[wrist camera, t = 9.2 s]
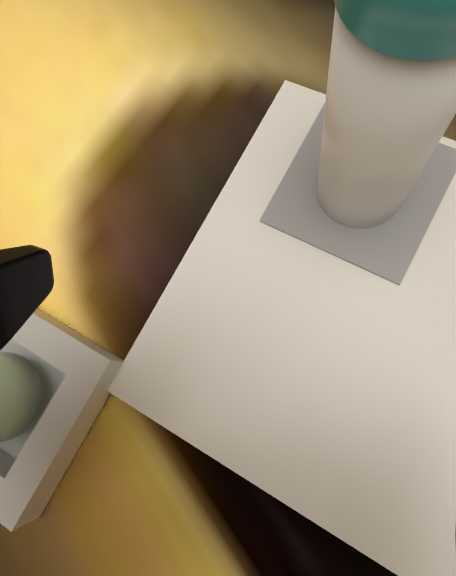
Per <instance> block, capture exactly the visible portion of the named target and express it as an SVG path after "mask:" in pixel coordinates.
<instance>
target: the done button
mask: <svg viewBox="0 0 456 576" xmlns="http://www.w3.org/2000/svg"><path fill="white" fill-rule="evenodd" d="M41 397H42V387H41V381H40V377H39V374H38V372H37V370H36V368H35V367H34V366H33V364H32V363H31V362H30V361H29V360H27V359H26V358H25V357H23V356H21V355H18V354H15V353H9V352H0V442H3V441H7V440H10V439H13V438H15V437H16V436H18V435H20V434H21V433H22V432H23V431H25V430H26V429H27V428H28V426H29V425H30V424H31V423H32V421H33V420H34V418H35V416H36V414H37V412H38V409H39V407H40V403H41Z"/></svg>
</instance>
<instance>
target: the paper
mask: <svg viewBox="0 0 456 576" xmlns="http://www.w3.org/2000/svg"><path fill="white" fill-rule="evenodd" d="M325 102H326V95H325V94H322V93H320V92H317V91H314V90H311V89H309V88H306V87H303V86H300V85H297V84H295V83H292V82H289V81H286V80H285V82H284V83H283V85H282V87H281V89H280V90H279V92H278V94H277V95H276V97H275V99H274V101H273V102H272V104H271V106H270V108H269V109H268V111H267V113H266V115H265V116H264V118H263V120H262V122H261V123H260V125H259V127H258V129H257V130H256V132H255V134H254V136H253V137H252V139H251V141H250V142H249V144H248V146H247V148H246V149H245V151H244V153H243V155H242V156H241V158H240V160H239V162H238V163H237V165H236V167H235V169H234V170H233V172H232V174H231V176H230V177H229V179H228V181H227V182H226V184H225V186H224V188H223V189H222V191H221V193H220V195H219V196H218V198H217V200H216V202H215V203H214V205H213V207H212V209H211V210H210V212H209V214H208V216H207V217H206V219H205V221H204V223H203V224H202V226H201V228H200V229H199V231H198V233H197V235H196V236H195V238H194V240H193V242H192V243H191V245H190V247H189V249H188V250H187V252H186V254H185V256H184V257H183V259H182V261H181V263H180V264H179V266H178V268H177V270H176V271H175V273H174V275H173V276H172V278H171V280H170V282H169V283H168V285H167V287H166V289H165V290H164V292H163V294H162V296H161V297H160V299H159V301H158V303H157V304H156V306H155V308H154V310H153V311H152V313H151V315H150V316H149V318H148V320H147V322H146V323H145V325H144V327H143V329H142V330H141V332H140V334H139V336H138V337H137V339H136V341H135V343H134V344H133V346H132V348H131V350H130V351H129V353H128V355H127V357H126V358H125V360H124V362H123V363H122V365H121V367H120V369H119V370H118V372H117V374H116V376H115V377H114V379H113V381H112V383H111V384H110V386H109V388H108V390H107V391H108V392H109V393H111V394H113V395H114V396H116V397H117V398H119V399H120V400H122V401H124V402H125V403H127V404H128V405H130V406H131V407H133V408H135V409H136V410H138V411H139V412H141V413H142V414H144V415H146V416H147V417H149V418H150V419H152V420H153V421H155V422H157V423H158V424H160V425H161V426H163V427H165V428H166V429H168V430H169V431H171V432H172V433H174V434H176V435H177V436H179V437H180V438H182V439H183V440H185V441H187V442H188V443H190V444H191V445H193V446H194V447H196V448H198V449H199V450H201V451H202V452H204V453H205V454H207V455H209V456H210V457H212V458H213V459H215V460H217V461H218V462H220V463H221V464H223V465H224V466H226V467H228V468H229V469H231V470H232V471H234V472H235V473H237V474H239V475H240V476H242V477H243V478H245V479H246V480H248V481H250V482H251V483H253V484H254V485H256V486H258V487H259V488H261V489H262V490H264V491H265V492H267V493H269V494H270V495H272V496H273V497H275V498H276V499H278V500H280V501H281V502H283V503H284V504H286V505H287V506H289V507H291V508H292V509H294V510H295V511H297V512H298V513H300V514H302V515H303V516H305V517H306V518H308V519H310V520H311V521H313V522H314V523H316V524H317V525H319V526H321V527H322V528H324V529H325V530H327V531H328V532H330V533H332V534H333V535H335V536H336V537H338V538H339V539H341V540H343V541H344V542H346V543H347V544H349V545H350V546H352V547H354V548H355V549H357V550H358V551H360V552H362V553H363V554H365V555H366V556H368V557H369V558H371V559H373V560H374V561H376V562H377V563H379V564H380V565H382V566H384V567H385V568H387V569H388V570H390V571H391V572H393V573H395V574H396V575H398V576H456V542H455V528H456V141H454V140H451V139H448V138H445V137H443V136H442V138H441V139H440V141H439V143H438V144H437V146H436V148H435V149H434V151H433V153H432V154H431V156H430V158H429V159H428V161H427V163H426V164H425V166H424V168H423V169H422V171H421V173H420V175H419V176H418V178H417V180H416V181H415V183H414V185H413V186H412V188H411V190H410V191H409V193H408V195H407V196H406V198H405V200H404V201H403V203H402V205H401V206H400V208H399V209H398V211H397V212H396V213H395V214H394V215H393V216H392V217H391V218H390V219H389V220H387V221H385V222H384V223H382V224H379V225H377V226H374V227H369V228H352V227H348V226H344V225H342V224H340V223H338V222H336V221H334V220H333V219H332V218H330V217H329V216H328V215H327V214H326V213H325V211H324V210H323V209H322V207H321V205H320V203H319V200H318V196H317V179H318V170H319V160H320V150H321V141H322V131H323V122H324V112H325Z"/></svg>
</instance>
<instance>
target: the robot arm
mask: <svg viewBox="0 0 456 576" xmlns="http://www.w3.org/2000/svg"><path fill="white" fill-rule="evenodd" d="M53 285H54V278H53V269H52V261H51V255H50V253H49V252H48V251H47V250H45V249H42V248H39V247H37V246H33V245H26V246H20V247H14V248H8V249H2V250H0V351H1V350H2V349H3V347H4V346H5V345H6V344H7V343H8V342H9V341H10V340H11V339H12V338H13V337H14V335H15V334H16V333H17V332H18V331H19V330H20V328H21V327H22V326H23V325H24V324H25V322H26V321H27V320H28V319H29V317H30V316H31V315H32V314H33V313H34V311H35V310H36V309H37V308H38V307H39V305H40V304H41V303H42V302H43V301H44V299H45V298H46V297H47V296H48V295H49V293H50V292H51V290H52V288H53ZM455 542H456V528H455Z"/></svg>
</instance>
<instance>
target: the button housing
mask: <svg viewBox="0 0 456 576" xmlns="http://www.w3.org/2000/svg"><path fill="white" fill-rule="evenodd" d="M0 352H9V353H15V354H18V355H21V356H23V357H25V358H26V359H27V360H29V361H30V362H31V363H32V364H33V366H34V367H35V368H36V370H37V372H38V374H39V377H40V381H41V387H42V397H41V403H40V407H39V409H38V412H37V414H36V416H35V418H34V420H33V421H32V423H31V424H30V425H29V426H28V428H27V429H26V430H25V431H23V432H22V433H21V434H20V435H18V436H16V437H15V438H13V439H10V440H7V441H3V442H0V523H1V524H2V525H3V526H4V527H6V528H7V529H8V530H9V531H11V532H12V531H14V530H16V529H18V528H20V527H22V526H24V525H26V524H28V523H30V522H32V521H33V520H35V519H37V518H39V517H40V516H41V514H42V512H43V511H44V509H45V507H46V505H47V504H48V502H49V500H50V498H51V497H52V495H53V493H54V491H55V490H56V488H57V486H58V484H59V483H60V481H61V479H62V477H63V476H64V474H65V472H66V470H67V469H68V467H69V465H70V463H71V462H72V460H73V458H74V457H75V455H76V453H77V451H78V450H79V448H80V446H81V444H82V443H83V441H84V439H85V437H86V436H87V434H88V432H89V430H90V429H91V427H92V425H93V423H94V422H95V420H96V418H97V416H98V415H99V413H100V411H101V409H102V408H103V406H104V404H105V402H106V401H107V399H108V397H109V395H110V394H111V393H109V392H108V391H107V390H108V388H109V386H110V384H111V383H112V381H113V379H114V377H115V376H116V374H117V372H118V370H119V369H120V367H121V365H122V363H123V362H124V360H122V359H121V358H119V357H118V356H116V355H114V354H113V353H111V352H109V351H108V350H106V349H104V348H103V347H101V346H99V345H98V344H96V343H94V342H93V341H91V340H89V339H88V338H86V337H84V336H83V335H81V334H79V333H78V332H76V331H74V330H73V329H71V328H70V327H68V326H66V325H65V324H63V323H61V322H60V321H58V320H56V319H55V318H53V317H51V316H50V315H48V314H46V313H45V312H43V311H41V310H40V309H38V308H37V309H36V310H35V311H34V313H33V314H32V315H31V316H30V317H29V319H28V320H27V321H26V322H25V324H24V325H23V326H22V327H21V328H20V330H19V331H18V332H17V333H16V334H15V335H14V337H13V338H12V339H11V340H10V341H9V342H8V343H7V344H6V345H5V346H4V347H3V349H2V350H1V351H0Z"/></svg>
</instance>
